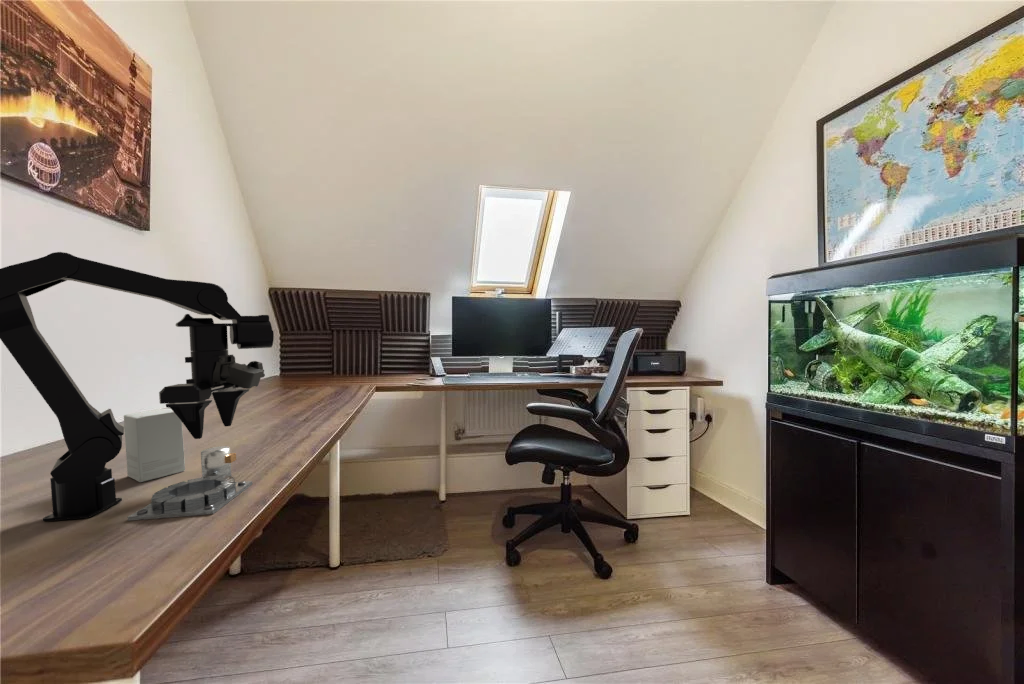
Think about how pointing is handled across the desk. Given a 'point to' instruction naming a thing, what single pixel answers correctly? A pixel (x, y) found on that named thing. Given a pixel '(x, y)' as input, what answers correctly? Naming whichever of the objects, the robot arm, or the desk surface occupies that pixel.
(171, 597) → the desk surface
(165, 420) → the supplement box
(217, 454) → the silver metal cylinder
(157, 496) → the duct flange
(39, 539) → the desk surface
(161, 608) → the desk surface
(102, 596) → the desk surface
